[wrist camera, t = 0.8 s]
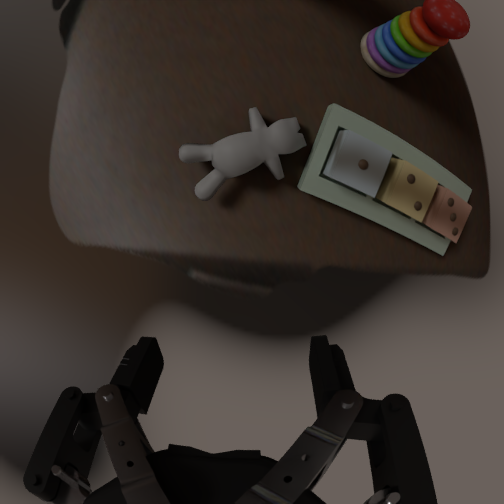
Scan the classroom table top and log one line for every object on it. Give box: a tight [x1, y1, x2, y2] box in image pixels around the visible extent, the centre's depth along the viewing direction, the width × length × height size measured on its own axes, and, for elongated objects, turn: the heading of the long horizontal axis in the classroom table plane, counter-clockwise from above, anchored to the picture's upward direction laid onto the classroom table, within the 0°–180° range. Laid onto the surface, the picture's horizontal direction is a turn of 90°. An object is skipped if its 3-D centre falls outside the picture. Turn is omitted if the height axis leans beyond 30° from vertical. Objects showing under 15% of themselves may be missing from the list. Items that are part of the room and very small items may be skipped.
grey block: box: [323, 130, 392, 198], centre depth 30 cm, size 6×6×4 cm
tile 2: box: [375, 158, 438, 223], centre depth 31 cm, size 6×6×4 cm
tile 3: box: [422, 185, 472, 243], centre depth 31 cm, size 6×6×4 cm
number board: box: [297, 103, 472, 256], centre depth 33 cm, size 12×26×3 cm, turn 71°
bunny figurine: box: [179, 107, 307, 201], centre depth 32 cm, size 10×5×15 cm
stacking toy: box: [361, 0, 470, 78], centre depth 19 cm, size 8×8×19 cm
